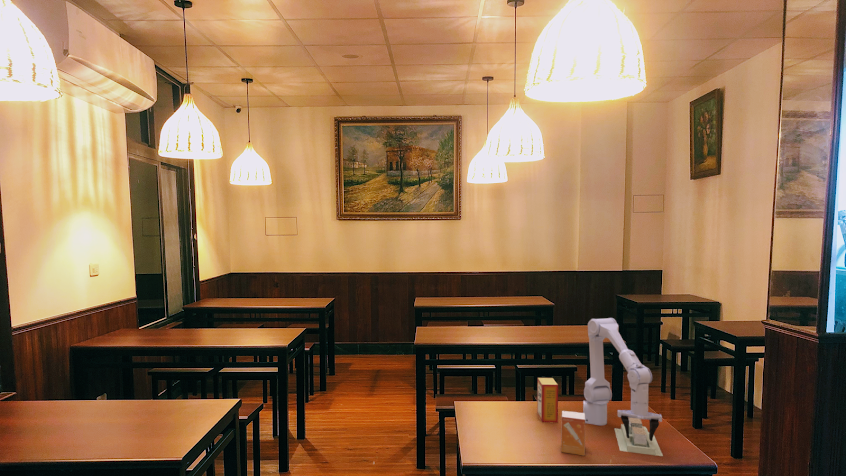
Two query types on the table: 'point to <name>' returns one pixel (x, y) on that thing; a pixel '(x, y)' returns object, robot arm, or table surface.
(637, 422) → the block
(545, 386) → the baking soda box
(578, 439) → the small box
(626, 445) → the cream stepped base
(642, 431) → the block
